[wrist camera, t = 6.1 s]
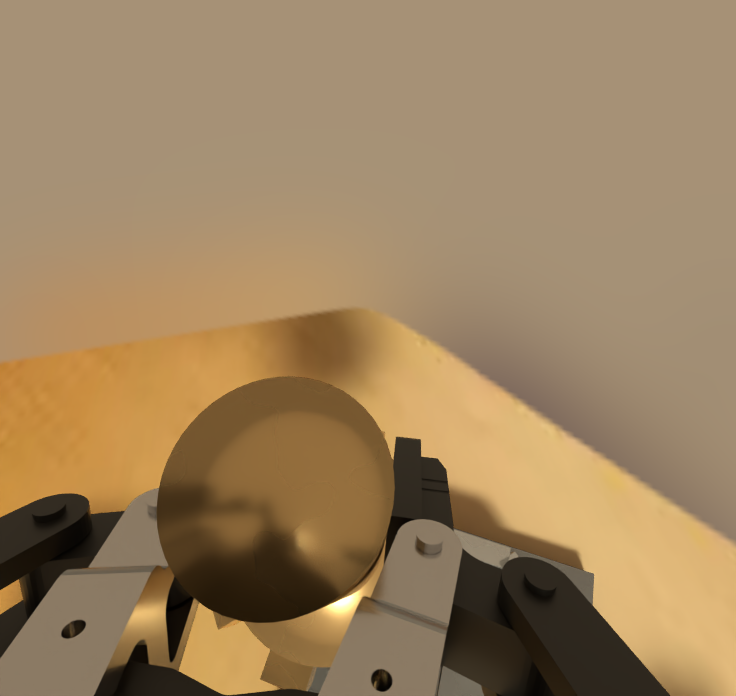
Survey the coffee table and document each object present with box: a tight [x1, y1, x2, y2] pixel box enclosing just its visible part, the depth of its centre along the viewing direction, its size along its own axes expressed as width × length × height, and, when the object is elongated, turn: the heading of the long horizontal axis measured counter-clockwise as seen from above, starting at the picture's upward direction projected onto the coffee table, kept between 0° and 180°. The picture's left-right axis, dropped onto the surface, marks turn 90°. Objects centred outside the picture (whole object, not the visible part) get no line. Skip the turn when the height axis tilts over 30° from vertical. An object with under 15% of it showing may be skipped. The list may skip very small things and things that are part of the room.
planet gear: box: [157, 377, 395, 691], centre depth 11 cm, size 8×8×11 cm
